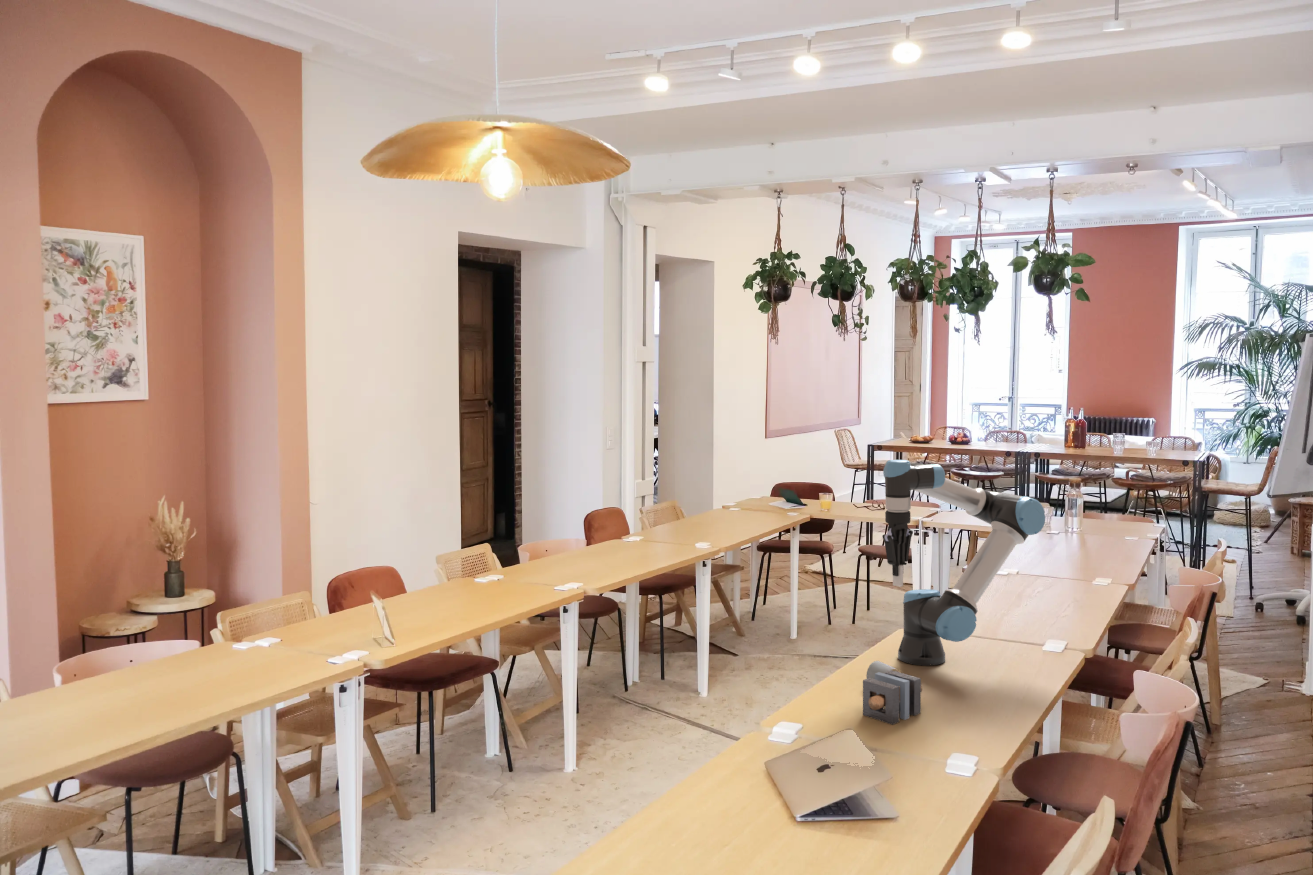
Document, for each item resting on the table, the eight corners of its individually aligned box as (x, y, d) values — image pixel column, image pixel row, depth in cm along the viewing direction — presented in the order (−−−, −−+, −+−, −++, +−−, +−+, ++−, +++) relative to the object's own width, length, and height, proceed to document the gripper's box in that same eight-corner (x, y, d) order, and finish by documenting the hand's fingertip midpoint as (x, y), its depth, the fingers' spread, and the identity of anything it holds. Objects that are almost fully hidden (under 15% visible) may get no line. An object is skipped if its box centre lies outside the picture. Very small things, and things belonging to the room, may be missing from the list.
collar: (869, 712, 276) (869, 677, 275) (899, 721, 268) (899, 686, 267) (862, 714, 274) (862, 680, 273) (892, 724, 266) (892, 688, 265)
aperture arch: (879, 708, 279) (879, 672, 278) (909, 717, 271) (909, 680, 270) (874, 710, 277) (874, 673, 277) (904, 719, 270) (905, 682, 269)
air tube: (910, 692, 283) (910, 678, 283) (922, 695, 280) (922, 681, 280) (867, 708, 270) (867, 694, 270) (879, 712, 267) (879, 698, 267)
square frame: (891, 703, 282) (891, 670, 281) (920, 713, 275) (920, 678, 274) (884, 706, 280) (884, 672, 279) (914, 715, 273) (914, 680, 272)
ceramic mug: (886, 694, 290) (886, 669, 290) (865, 687, 297) (866, 662, 296) (910, 687, 296) (910, 663, 296) (889, 681, 303) (889, 656, 302)
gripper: (899, 506, 308) (900, 580, 310) (875, 511, 299) (875, 587, 301) (920, 508, 302) (920, 584, 304) (895, 514, 294) (895, 591, 296)
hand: (897, 585), depth 303 cm, fingers closed
